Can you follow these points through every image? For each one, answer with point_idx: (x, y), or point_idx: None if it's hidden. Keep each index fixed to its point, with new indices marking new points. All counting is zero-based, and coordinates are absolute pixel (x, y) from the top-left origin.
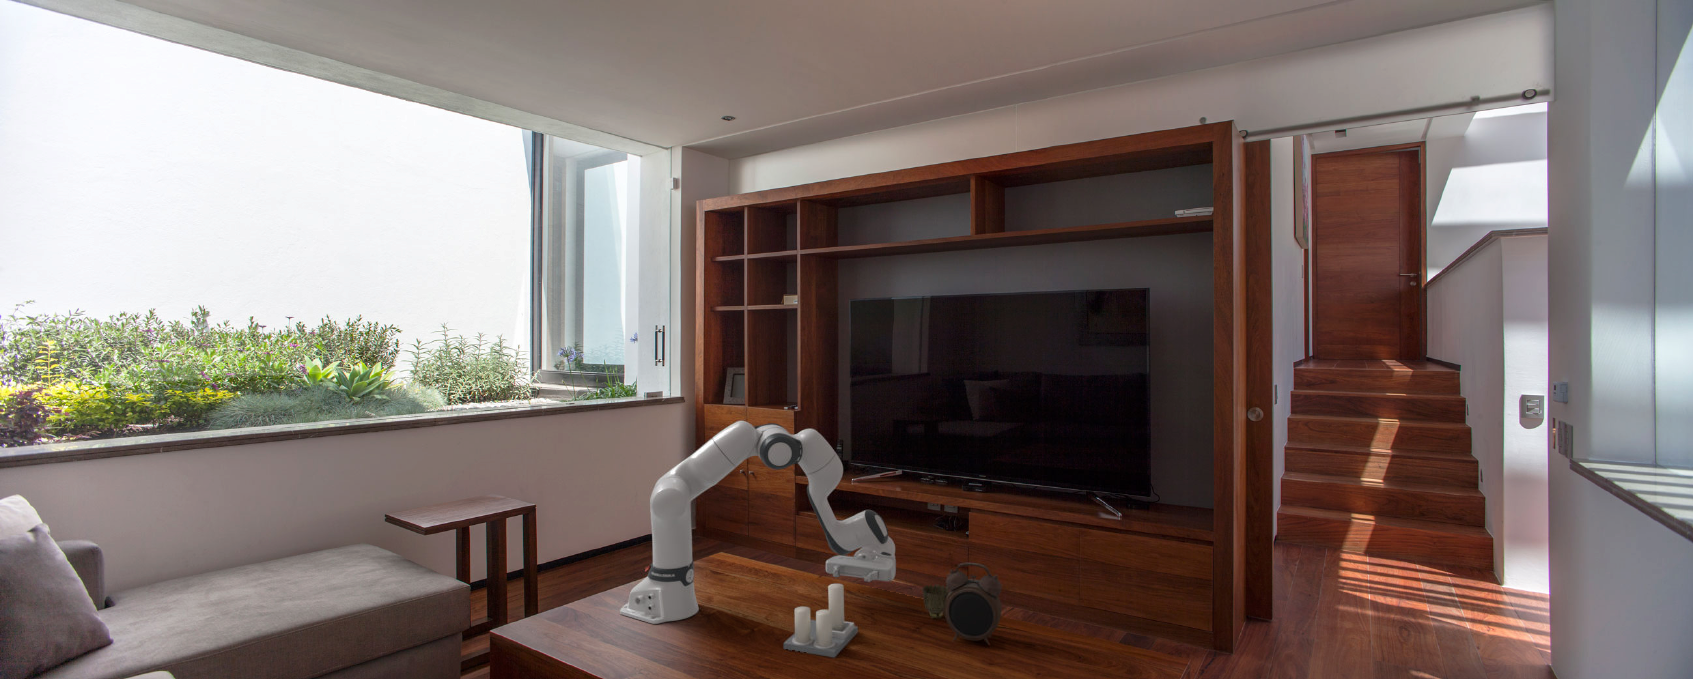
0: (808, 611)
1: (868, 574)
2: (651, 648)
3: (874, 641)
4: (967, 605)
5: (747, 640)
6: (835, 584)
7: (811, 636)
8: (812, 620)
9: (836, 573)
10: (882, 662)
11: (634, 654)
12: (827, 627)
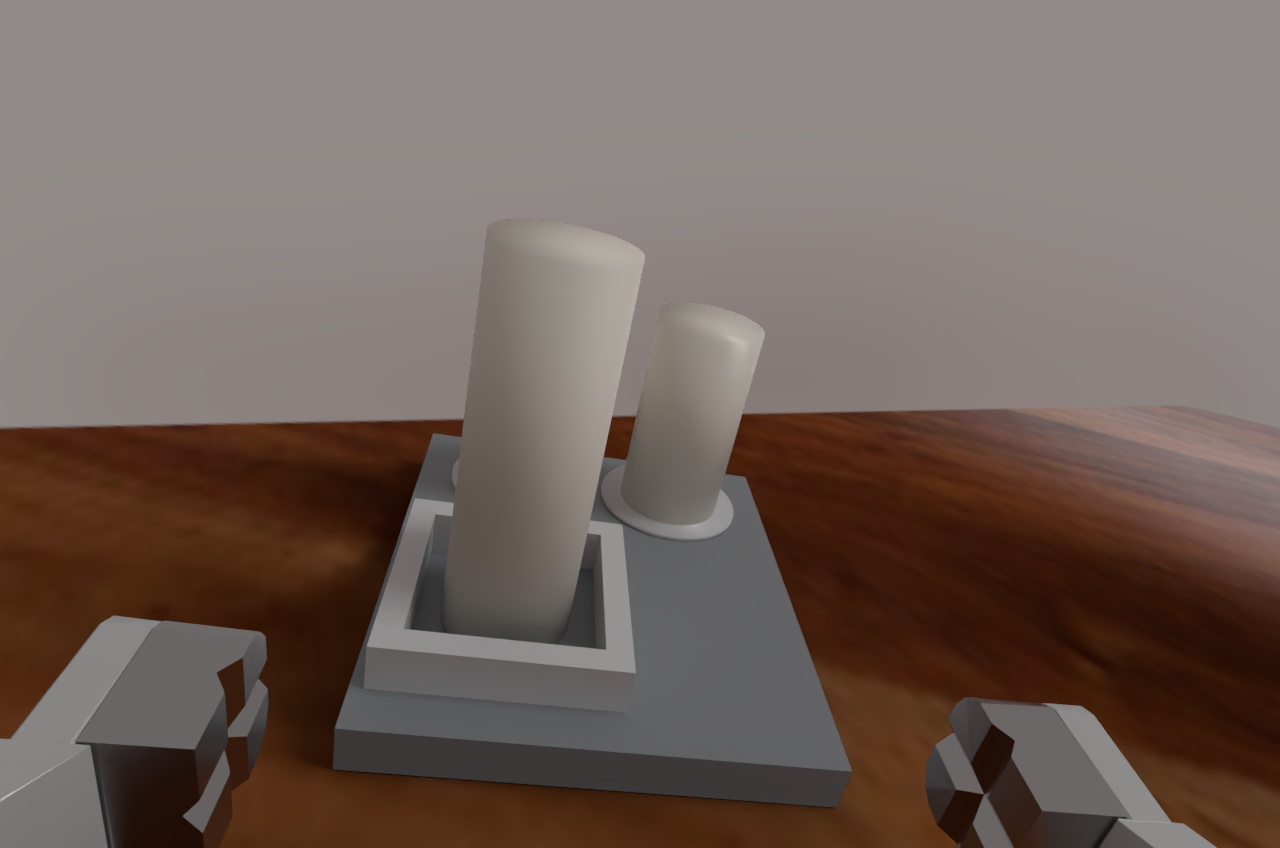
0: (660, 310)
1: (123, 673)
2: (1180, 475)
3: None
4: None
5: (973, 553)
6: (592, 256)
7: (648, 540)
8: (817, 757)
9: (975, 712)
10: (118, 444)
11: (1163, 446)
12: None
